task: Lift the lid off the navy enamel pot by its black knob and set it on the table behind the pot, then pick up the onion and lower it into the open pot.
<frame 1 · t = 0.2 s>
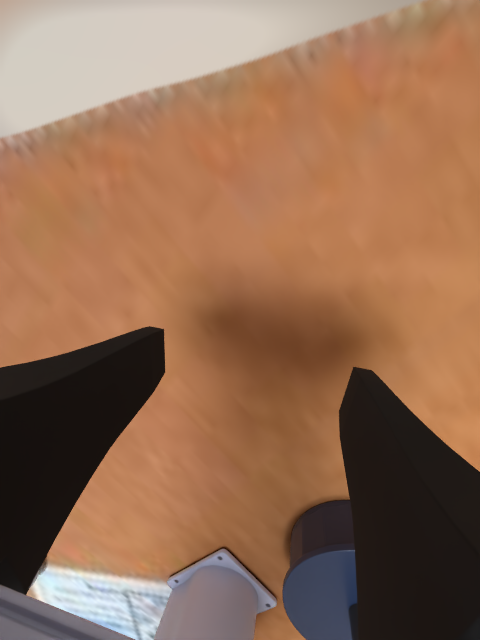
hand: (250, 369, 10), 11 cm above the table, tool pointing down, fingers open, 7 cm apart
pot: (354, 550, 25), on the table
lid: (364, 606, 21), point 4 cm above the table, touching pot
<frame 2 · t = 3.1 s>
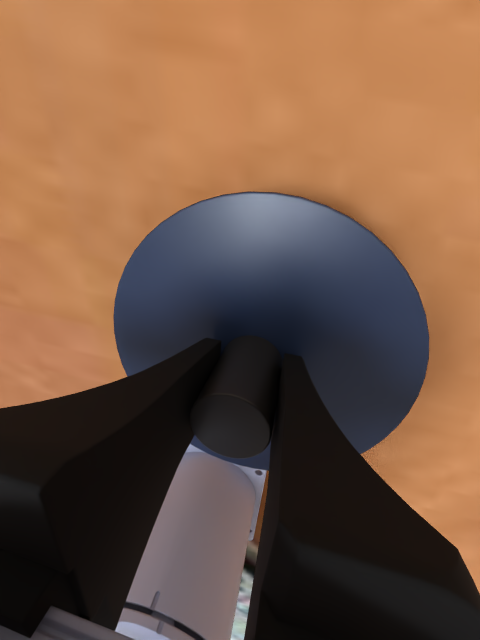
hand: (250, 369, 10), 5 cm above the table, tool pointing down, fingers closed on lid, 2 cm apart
lid: (254, 355, 11), point 4 cm above the table, touching gripper, pot
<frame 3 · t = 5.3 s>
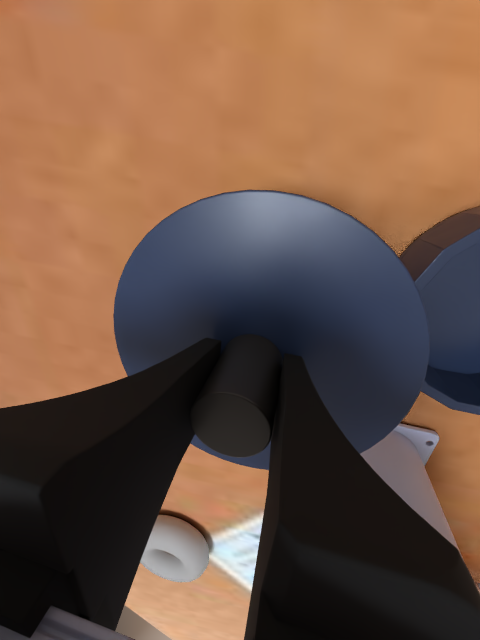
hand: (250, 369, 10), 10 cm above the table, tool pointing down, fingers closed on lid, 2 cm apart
pot: (479, 299, 17), on the table
lid: (254, 354, 11), point 9 cm above the table, touching gripper
donut: (177, 532, 36), on the table
when the fingers open (2 cm above the table, at t = 7.8 s): lid stays where it is, point 1 cm above the table.
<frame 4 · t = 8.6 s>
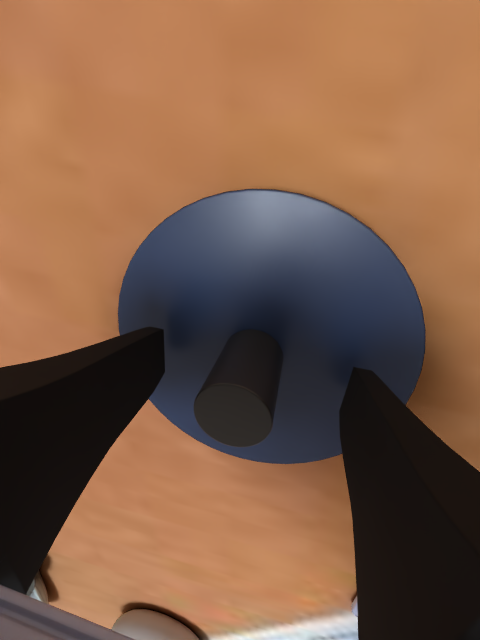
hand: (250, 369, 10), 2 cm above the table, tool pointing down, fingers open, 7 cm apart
lid: (255, 349, 12), point 1 cm above the table
donut: (165, 626, 28), on the table
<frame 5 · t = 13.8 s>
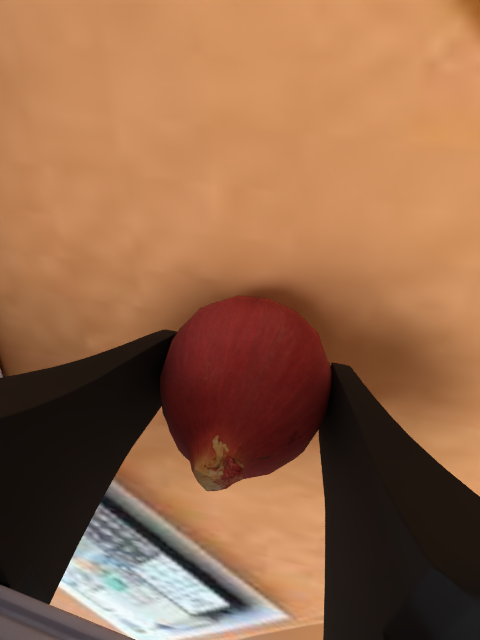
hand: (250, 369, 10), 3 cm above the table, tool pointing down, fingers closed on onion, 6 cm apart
onion: (262, 330, 13), on the table, touching gripper
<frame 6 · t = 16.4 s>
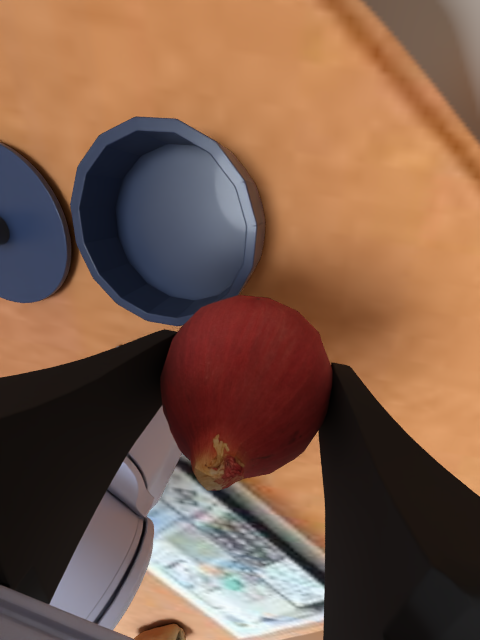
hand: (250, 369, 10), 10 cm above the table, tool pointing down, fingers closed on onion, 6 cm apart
pot: (185, 229, 19), on the table
lid: (2, 227, 22), point 1 cm above the table
food: (162, 628, 47), on the table
onion: (262, 330, 13), point 7 cm above the table, touching gripper
when the fingers open (4 cm above the table, at t = 19.3 s): onion stays where it is, resting on pot.
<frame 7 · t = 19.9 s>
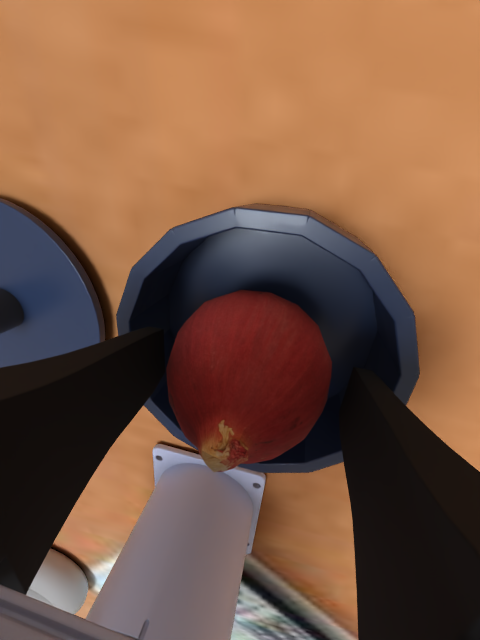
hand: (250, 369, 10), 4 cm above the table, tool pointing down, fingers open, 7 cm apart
pot: (265, 324, 14), on the table
lid: (14, 304, 17), point 1 cm above the table
donut: (59, 562, 33), on the table
onion: (264, 325, 14), resting on pot
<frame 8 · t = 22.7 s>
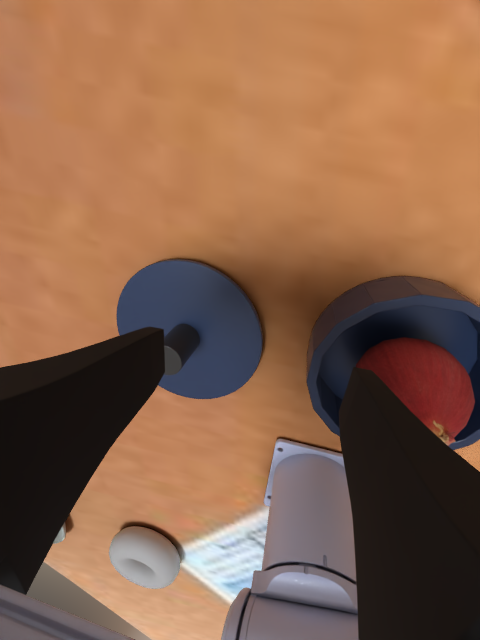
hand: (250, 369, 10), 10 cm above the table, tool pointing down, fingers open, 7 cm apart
pot: (389, 352, 20), on the table
lid: (188, 334, 22), point 1 cm above the table
donut: (151, 541, 39), on the table
onion: (389, 353, 19), resting on pot
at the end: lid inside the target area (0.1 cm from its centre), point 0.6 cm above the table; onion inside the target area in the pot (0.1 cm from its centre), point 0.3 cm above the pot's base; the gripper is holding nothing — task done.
